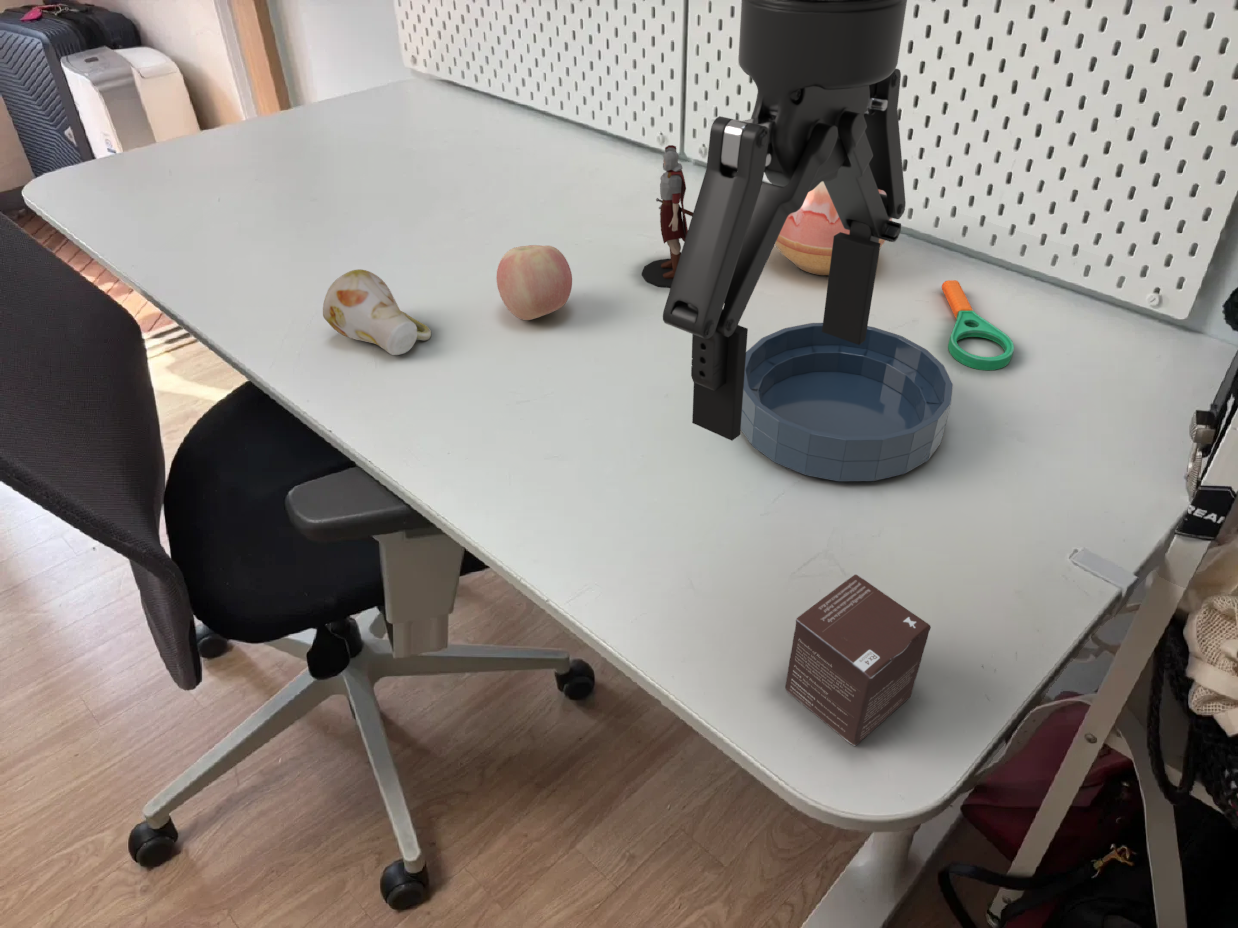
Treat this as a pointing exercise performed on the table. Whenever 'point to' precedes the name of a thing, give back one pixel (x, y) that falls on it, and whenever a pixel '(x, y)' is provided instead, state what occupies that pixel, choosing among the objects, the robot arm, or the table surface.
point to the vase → (812, 232)
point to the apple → (534, 280)
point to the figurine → (669, 220)
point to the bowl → (844, 403)
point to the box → (855, 658)
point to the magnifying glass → (973, 331)
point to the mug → (370, 313)
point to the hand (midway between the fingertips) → (784, 379)
